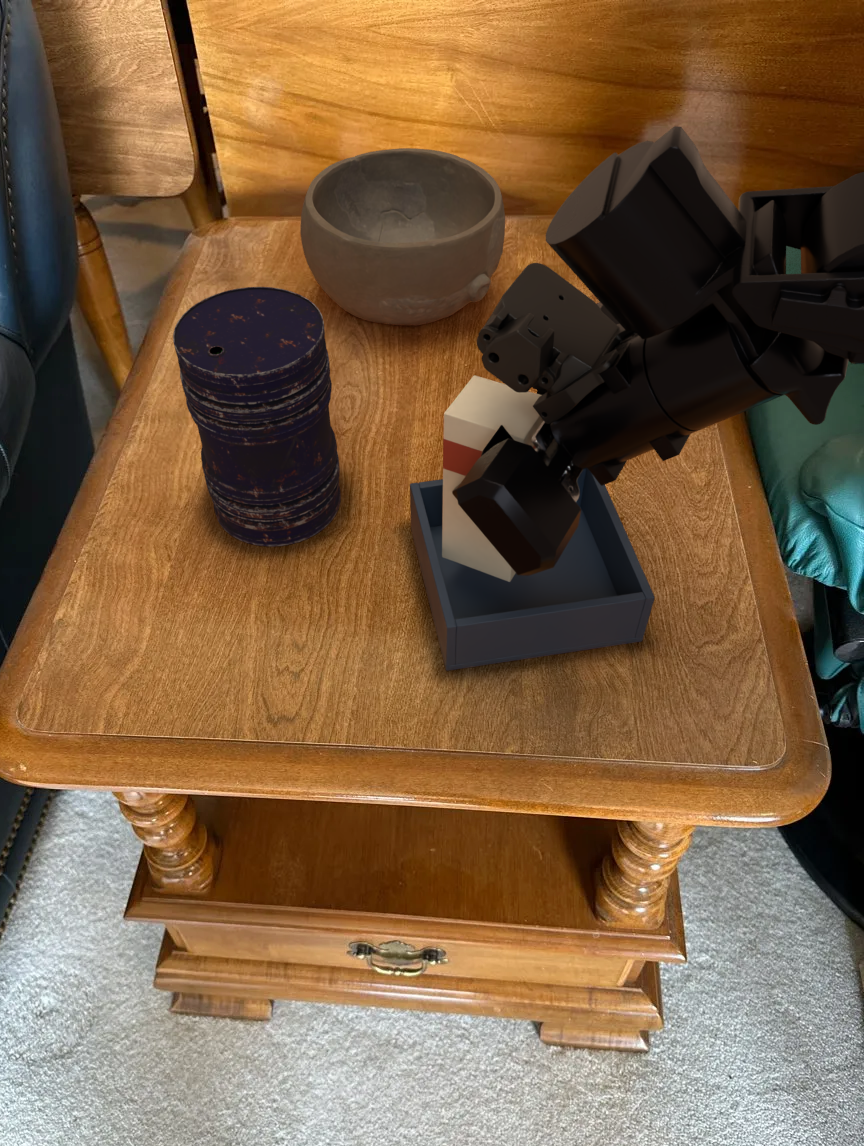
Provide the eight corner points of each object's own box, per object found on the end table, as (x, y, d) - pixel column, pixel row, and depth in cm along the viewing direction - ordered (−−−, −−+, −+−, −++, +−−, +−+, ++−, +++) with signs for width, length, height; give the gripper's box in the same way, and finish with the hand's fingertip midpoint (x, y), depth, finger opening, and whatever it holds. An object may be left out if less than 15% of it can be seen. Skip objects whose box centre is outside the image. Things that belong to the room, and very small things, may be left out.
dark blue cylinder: (277, 440, 77) (249, 269, 65) (369, 492, 73) (358, 319, 61) (185, 508, 72) (138, 338, 61) (278, 568, 68) (247, 397, 56)
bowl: (530, 325, 85) (540, 217, 77) (341, 371, 82) (332, 263, 74) (457, 232, 96) (459, 128, 88) (286, 270, 92) (273, 166, 84)
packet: (535, 543, 64) (552, 397, 55) (510, 582, 62) (524, 439, 53) (467, 519, 66) (473, 374, 57) (441, 557, 64) (442, 413, 54)
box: (585, 504, 71) (593, 458, 67) (642, 641, 63) (655, 597, 59) (410, 528, 70) (409, 483, 67) (445, 671, 62) (446, 627, 58)
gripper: (653, 157, 50) (459, 296, 62) (504, 349, 40) (308, 469, 52) (763, 327, 53) (559, 426, 66) (651, 541, 44) (435, 611, 56)
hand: (472, 475), depth 60 cm, fingers closed on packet, 4 cm apart
